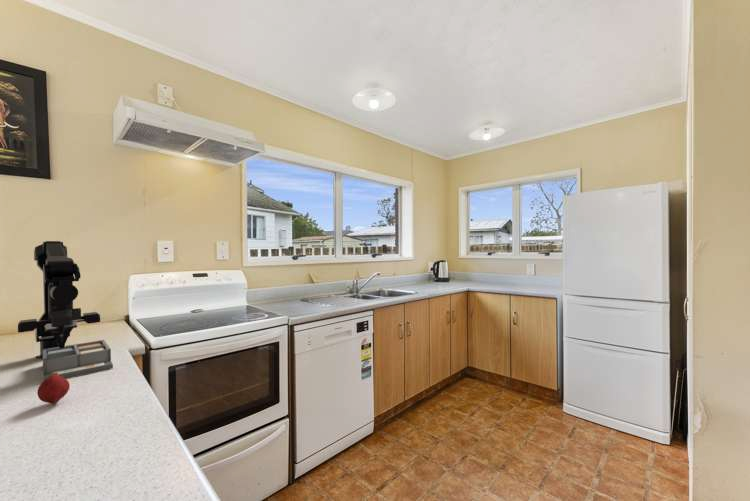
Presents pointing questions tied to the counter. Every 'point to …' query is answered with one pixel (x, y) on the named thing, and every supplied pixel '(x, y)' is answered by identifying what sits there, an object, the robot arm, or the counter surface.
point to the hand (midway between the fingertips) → (61, 348)
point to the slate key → (60, 350)
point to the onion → (53, 388)
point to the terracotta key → (89, 346)
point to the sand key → (91, 350)
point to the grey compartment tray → (77, 360)
